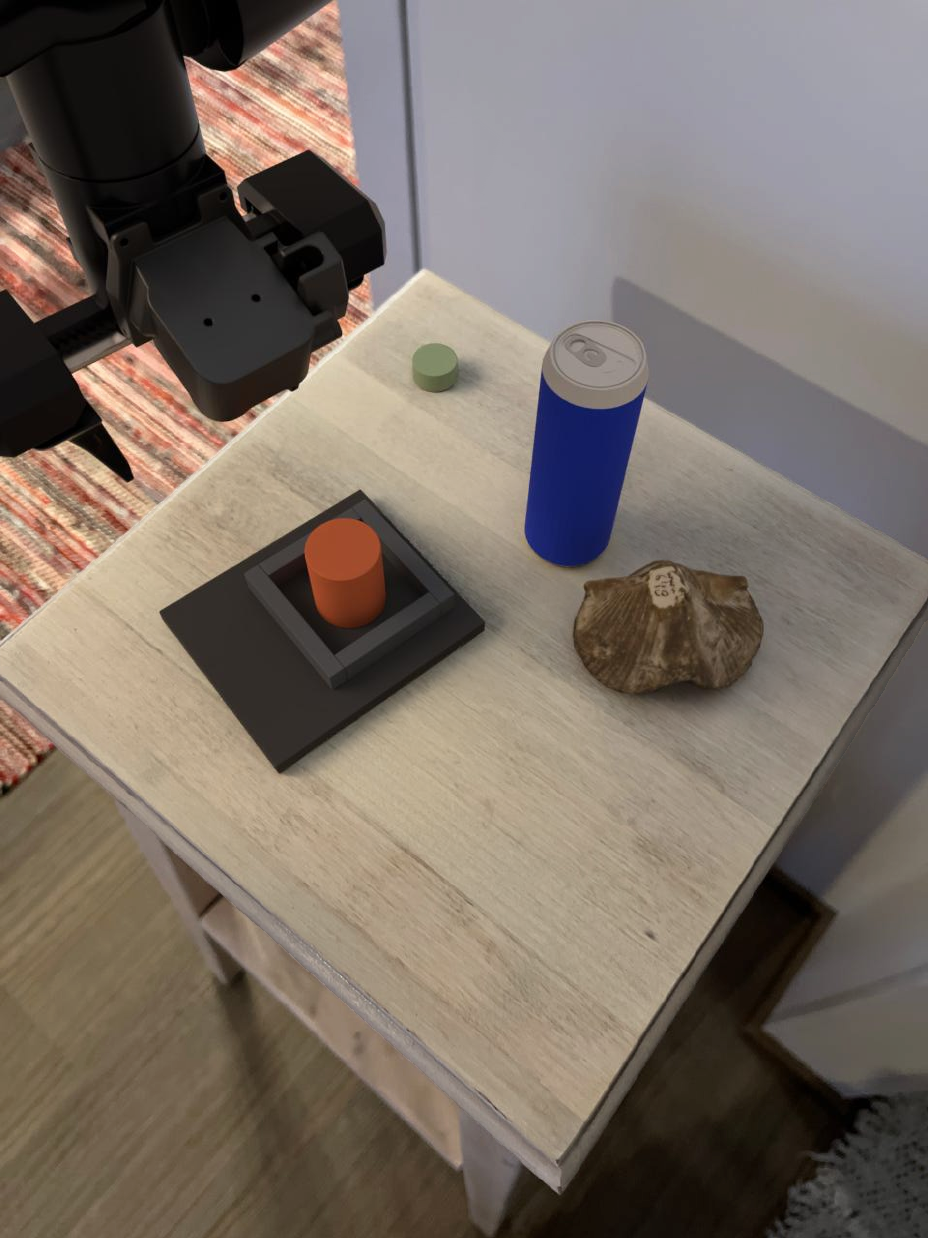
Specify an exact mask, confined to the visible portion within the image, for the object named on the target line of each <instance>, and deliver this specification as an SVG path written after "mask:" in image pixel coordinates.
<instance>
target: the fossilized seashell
mask: <svg viewBox="0 0 928 1238" xmlns="http://www.w3.org/2000/svg"><path fill="white" fill-rule="evenodd" d="M748 589H749V583H748V579H747V577H746V576H744V575H729V574H721V573H716V572H712V571H707V570H702V569H701V570H700V569H693V568H690V567H688V566H685V565H684V564H682V563H678V562H673V561H671V560H668V559H659V560H654V561H651V562H649V563H647V564H645V565H643V566H641V567H640V568H638V569H636V570H635V571H634V572H631V573H630V574H628V575H627V576H617V577H606V578H598V579H592V580H591V579H590V580H588V581H587V580H586V582H585V583H583V590H584V596H583V600H582V602H581V605H580V606H579V609H578V611H577V614H576V615H575V617H574V621H573V627H572V628H573V629H572V635H571V636H572V642H573V647H574V650H575V652H576V654H577V656H578V658H579V659H580V660H581V662H582V665H583V667H584V668H585V670H587V671H588V673H589V674H590V676H591V677H592V678H594V679H595V680H596V681H598V682H599V683H600V684H602V685H603V686H604V687H606V688H608V689H611V690H612V691H614V692H618V693H620V694H629V695H632V696H633V695H634V696H636V695H641V694H645V693H652V692H658V691H660V690H662V689H665V688H667V687H669V686H672V685H675V684H679V683H685V684H688V685H692V686H695V687H697V688H700V689H702V690H703V691H713V690H718V689H724V688H725V689H726V688H729V687H731V686H732V685H733V684H734V683H736V682H737V681H738V680H739V678H741V677H743V676H745V674H746V673H747V672H748V670H749V669H750V668H751V667H752V665H753V660H754V658H755V657H756V655H757V653H758V651H759V649H760V648H761V644H762V640H763V637H764V631H765V627H764V626H765V625H764V621H763V618H762V616H761V614H760V612H759V609H758V607H757V606H756V603H755V600H754V598H753V597H752V595H751V593H750V591H749V590H748Z"/></svg>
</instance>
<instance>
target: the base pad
mask: <svg viewBox="0 0 928 1238" xmlns="http://www.w3.org/2000/svg"><path fill="white" fill-rule="evenodd" d="M340 518H349V519H355V520H359V521H361V522H363V523H365V524H367V525H368V526H370V527H371V528H372V529H373V530H374V531H375V532H376V534H377V536H378V537H379V540H380V544H381V553H382V562H383V571H384V581H385V590H386V602H385V606H384V608H383V610H382V612H381V613H380V614H379V616H378V617H377V618H376V619H374V620H373V621H372V622H370V623H368V624H366V625H364V626H361V627H357V628H341V627H337V626H335V625H332V624H330V623H329V622H327V621H326V620H325V619H324V618H323V617H322V616H321V615H320V613H319V612H318V610H317V607H316V603H315V598H314V594H313V589H312V585H311V581H310V576H309V572H308V567H307V563H306V558H305V545H306V542H307V540H308V538H309V536H310V535H311V533H312V532H313V531H314V530H315V529H316V528H317V527H319V526H320V525H322V524H324V523H325V522H328V521H331V520H334V519H340ZM158 614H159V615H160V617H161V619H162V621H163V622H164V624H165V625H166V627H167V628H168V629H169V630H170V632H171V633H172V634H173V636H174V637H175V639H177V641H178V642H179V643H180V645H181V646H182V647H183V649H184V650H185V651H186V653H187V654H188V656H189V657H190V659H192V661H193V662H194V663H195V665H196V667H198V669H199V670H200V672H201V673H202V674H203V676H204V677H205V679H207V681H208V682H209V684H210V685H211V686H212V687H213V689H214V691H216V693H217V694H218V695H219V696H220V698H221V699H222V700H223V702H224V703H225V704H226V707H228V708H229V711H231V713H232V714H233V715H234V716H235V718H236V720H238V721H239V723H240V724H241V726H242V728H244V730H245V731H246V733H247V734H248V735H249V737H250V738H251V739H252V741H253V742H254V743H255V745H256V746H257V747H258V749H259V750H260V751H261V752H262V754H263V755H264V756H265V758H266V759H267V760H268V762H269V764H270V765H271V766H272V767H273V768H274V770H275V771H276V772H277V774H281V773H283V772H284V771H285V770H287V769H289V768H290V767H291V766H293V765H294V764H295V763H297V762H298V761H300V760H301V759H302V758H304V757H305V756H307V755H308V754H310V753H312V752H313V751H314V750H316V749H317V748H318V747H320V746H321V745H323V744H325V742H327V741H329V740H330V739H332V738H333V737H334V736H336V735H337V734H339V733H340V732H342V731H343V730H344V729H345V728H347V727H348V726H350V725H351V724H353V723H354V722H356V721H357V720H358V719H360V718H361V717H363V716H364V715H365V714H367V713H369V712H370V711H372V710H373V709H374V708H376V707H377V706H378V705H380V704H381V703H383V702H384V701H387V699H389V698H390V697H391V696H393V695H394V694H396V693H397V692H398V691H400V690H402V689H403V688H404V687H406V686H407V685H408V684H410V683H411V682H412V681H414V680H415V679H417V678H419V677H420V676H421V675H423V674H424V673H426V672H427V671H429V670H430V669H431V668H433V667H434V666H436V665H437V664H438V663H440V662H442V661H443V660H444V659H446V658H447V657H449V656H450V655H451V654H453V653H455V652H456V651H458V650H459V649H460V648H461V647H463V646H464V645H465V644H467V643H469V642H470V641H472V640H473V639H475V638H476V637H477V636H479V635H481V633H483V632H485V630H486V621H485V620H484V619H483V618H482V617H481V616H480V615H479V613H478V612H476V611H475V610H474V608H473V607H472V606H471V604H469V603H468V602H467V601H466V600H465V599H464V598H463V596H461V595H460V593H459V592H458V591H457V590H456V589H455V588H454V587H453V586H452V585H451V583H449V581H447V580H446V578H444V576H443V575H442V574H441V573H440V572H439V571H438V570H437V569H436V567H434V565H432V563H431V562H429V560H428V559H427V558H426V557H425V556H424V555H423V554H422V553H421V552H420V551H419V550H418V548H416V546H415V545H414V544H413V543H412V542H411V541H410V540H409V539H408V538H407V537H406V536H405V535H404V534H403V533H402V532H401V530H399V529H398V528H397V526H396V525H395V524H394V523H393V522H392V521H391V520H390V519H389V518H388V517H387V516H386V515H385V514H384V512H383V511H382V510H381V509H380V508H379V507H378V506H377V505H376V504H375V503H374V502H373V501H372V499H370V498H369V496H367V494H366V493H365V492H364V491H363V490H362V489H358V490H356V491H355V492H353V493H352V494H350V495H348V496H346V497H345V498H343V499H341V500H340V501H338V502H337V503H335V504H333V505H331V506H330V507H328V508H327V509H326V510H323V511H322V512H320V513H319V514H316V515H315V516H313V517H312V518H310V519H308V520H307V521H305V522H304V523H302V524H301V525H299V526H297V527H295V528H293V529H292V530H291V531H289V532H287V533H285V534H283V536H280V537H279V538H277V539H276V540H274V541H272V542H271V543H269V544H268V545H267V544H266V546H264V547H263V548H261V549H259V550H258V551H256V552H254V553H253V554H251V555H249V556H248V557H246V558H245V559H243V560H241V561H239V562H238V563H236V564H235V565H232V566H231V567H230V568H228V569H226V570H225V571H223V572H221V573H220V574H218V575H216V576H215V577H213V578H212V579H210V580H208V581H206V582H205V583H203V584H202V585H200V586H198V587H196V588H195V589H193V590H192V591H190V592H188V593H187V594H185V595H183V596H182V597H180V598H178V599H177V600H175V601H174V602H172V603H170V604H169V605H167V606H165V607H164V608H162V609H160V610H159V611H158Z"/></svg>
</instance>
